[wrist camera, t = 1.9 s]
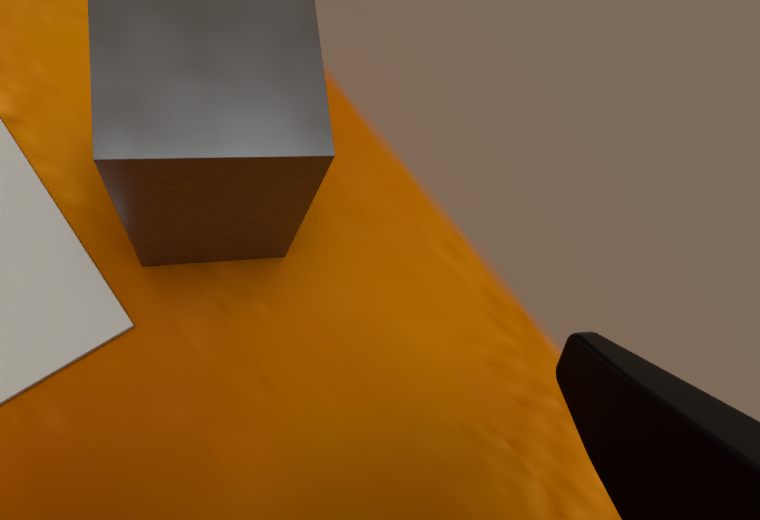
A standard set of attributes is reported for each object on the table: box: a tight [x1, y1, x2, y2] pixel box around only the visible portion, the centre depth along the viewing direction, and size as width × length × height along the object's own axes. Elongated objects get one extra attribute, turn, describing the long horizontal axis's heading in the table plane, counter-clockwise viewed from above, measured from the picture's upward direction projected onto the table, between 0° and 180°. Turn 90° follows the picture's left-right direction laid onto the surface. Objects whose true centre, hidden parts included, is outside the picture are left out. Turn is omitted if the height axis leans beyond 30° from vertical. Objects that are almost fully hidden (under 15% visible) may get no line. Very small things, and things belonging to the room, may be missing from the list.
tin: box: [88, 0, 335, 266], centre depth 19 cm, size 5×5×10 cm
